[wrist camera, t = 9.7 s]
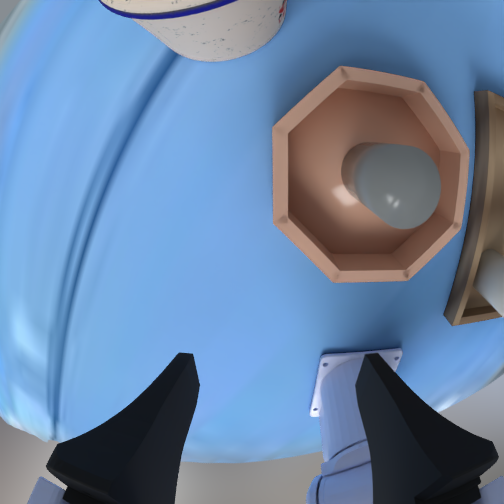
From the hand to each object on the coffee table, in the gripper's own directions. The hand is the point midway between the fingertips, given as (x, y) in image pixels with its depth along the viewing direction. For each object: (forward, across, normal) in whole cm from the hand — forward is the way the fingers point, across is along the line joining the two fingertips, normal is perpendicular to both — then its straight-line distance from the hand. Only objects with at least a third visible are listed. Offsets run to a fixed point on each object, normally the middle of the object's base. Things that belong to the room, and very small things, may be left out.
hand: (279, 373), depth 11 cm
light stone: (+9, -19, 0) cm, 21 cm away
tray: (+10, -22, -5) cm, 25 cm away
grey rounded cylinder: (+9, -6, -7) cm, 13 cm away
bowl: (+10, -6, -7) cm, 14 cm away
